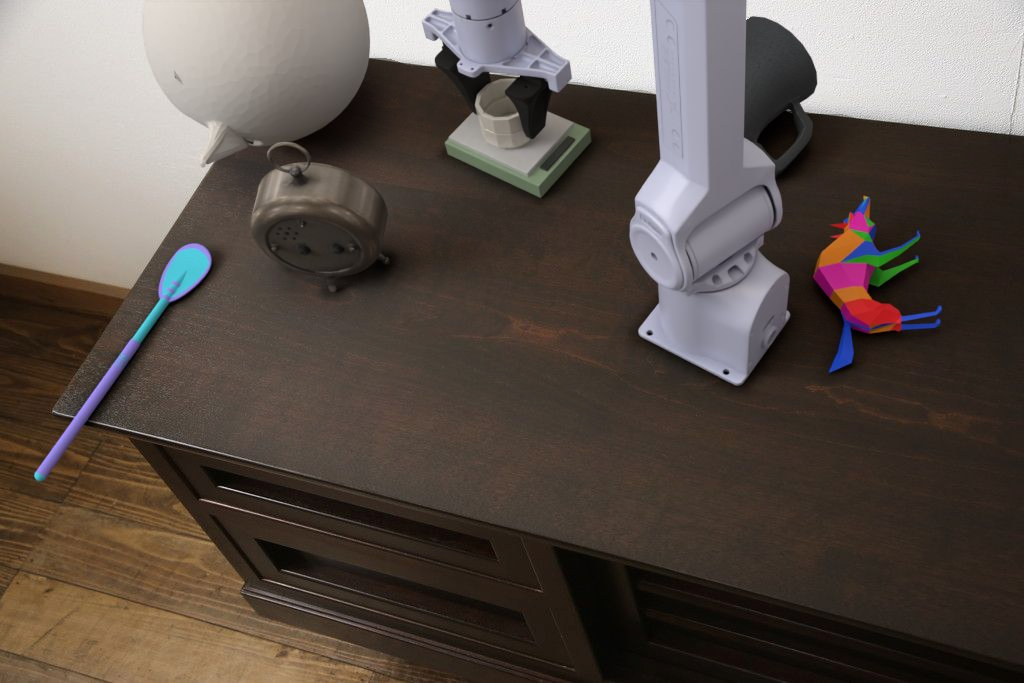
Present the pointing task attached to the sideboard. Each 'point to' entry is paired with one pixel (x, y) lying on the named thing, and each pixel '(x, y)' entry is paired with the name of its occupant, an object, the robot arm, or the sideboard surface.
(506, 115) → the bowl
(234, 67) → the mask
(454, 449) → the sideboard surface
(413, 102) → the sideboard surface
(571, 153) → the scale
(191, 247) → the spoon
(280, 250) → the alarm clock
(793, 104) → the mug
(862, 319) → the figurine
